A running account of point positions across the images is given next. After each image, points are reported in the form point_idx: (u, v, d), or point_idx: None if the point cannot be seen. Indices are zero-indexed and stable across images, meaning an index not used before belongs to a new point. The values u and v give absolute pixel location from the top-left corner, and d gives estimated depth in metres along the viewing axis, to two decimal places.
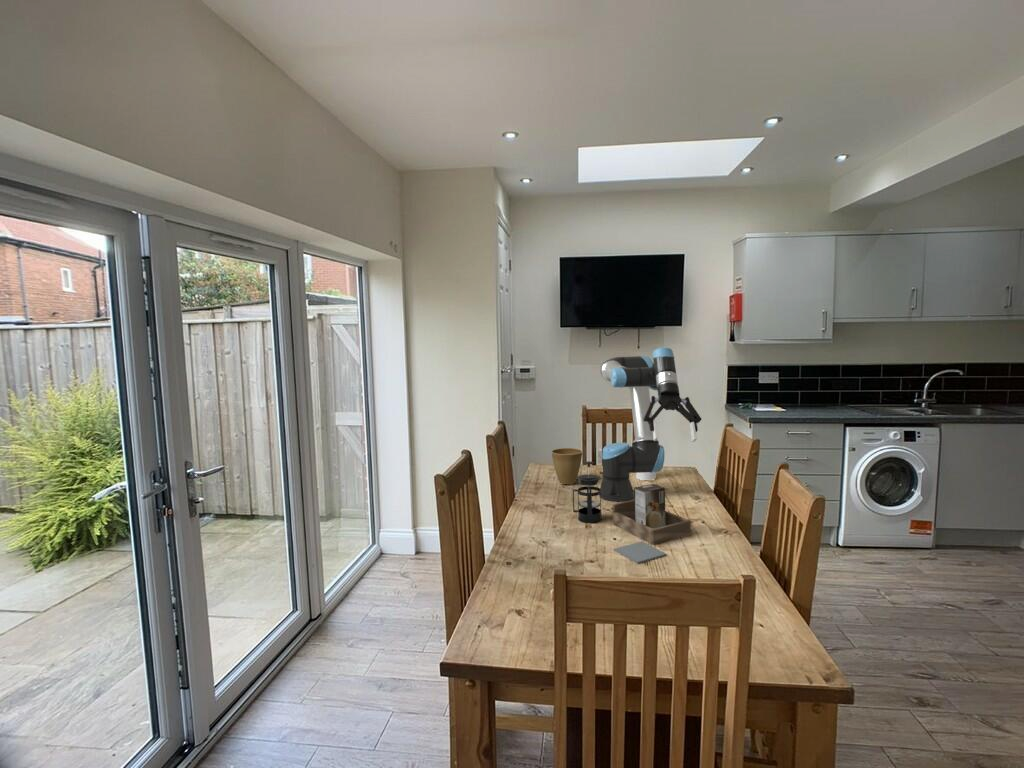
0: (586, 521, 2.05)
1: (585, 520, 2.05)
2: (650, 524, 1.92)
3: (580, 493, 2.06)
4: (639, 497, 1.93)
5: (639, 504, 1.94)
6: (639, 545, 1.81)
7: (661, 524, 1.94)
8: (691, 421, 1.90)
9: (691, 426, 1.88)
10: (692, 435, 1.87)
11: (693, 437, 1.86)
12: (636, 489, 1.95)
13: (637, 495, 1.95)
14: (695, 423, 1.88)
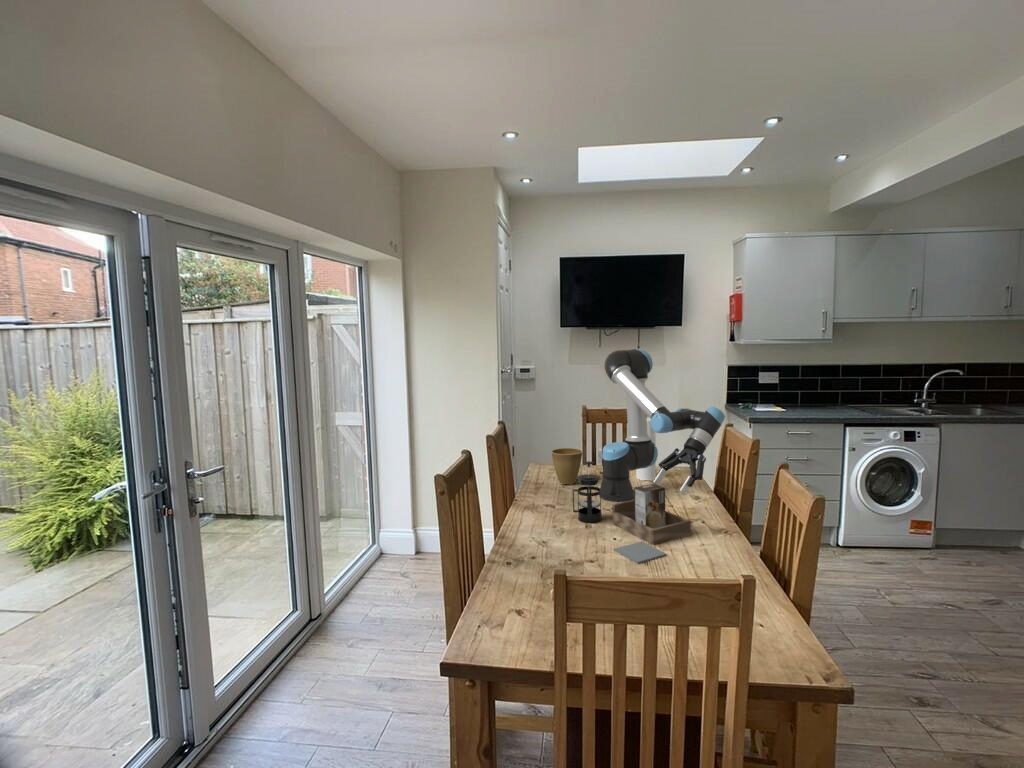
0: (586, 521, 2.05)
1: (585, 520, 2.05)
2: (650, 524, 1.92)
3: (580, 493, 2.06)
4: (639, 497, 1.93)
5: (639, 504, 1.94)
6: (639, 545, 1.81)
7: (661, 524, 1.94)
8: None
9: (663, 473, 2.04)
10: (658, 480, 2.03)
11: (658, 483, 2.03)
12: (636, 489, 1.95)
13: (637, 495, 1.95)
14: None
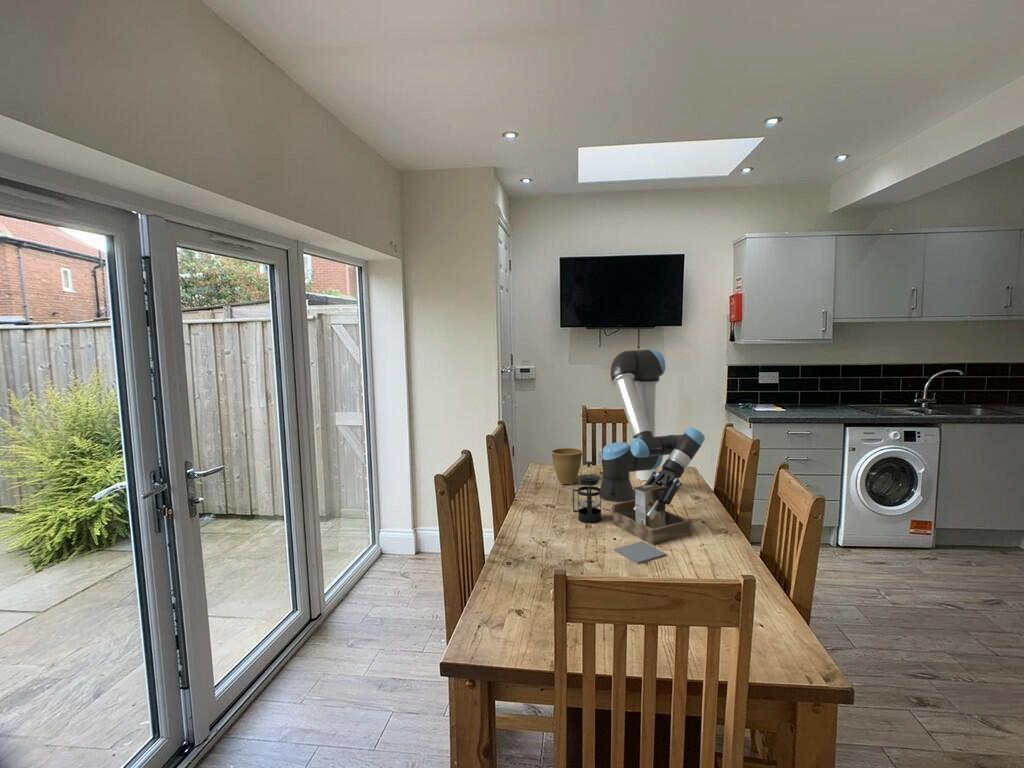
0: (586, 521, 2.05)
1: (585, 520, 2.05)
2: (650, 524, 1.92)
3: (580, 493, 2.06)
4: (639, 497, 1.93)
5: (639, 504, 1.94)
6: (639, 545, 1.81)
7: (661, 524, 1.94)
8: None
9: None
10: None
11: None
12: (636, 489, 1.95)
13: (637, 495, 1.95)
14: None
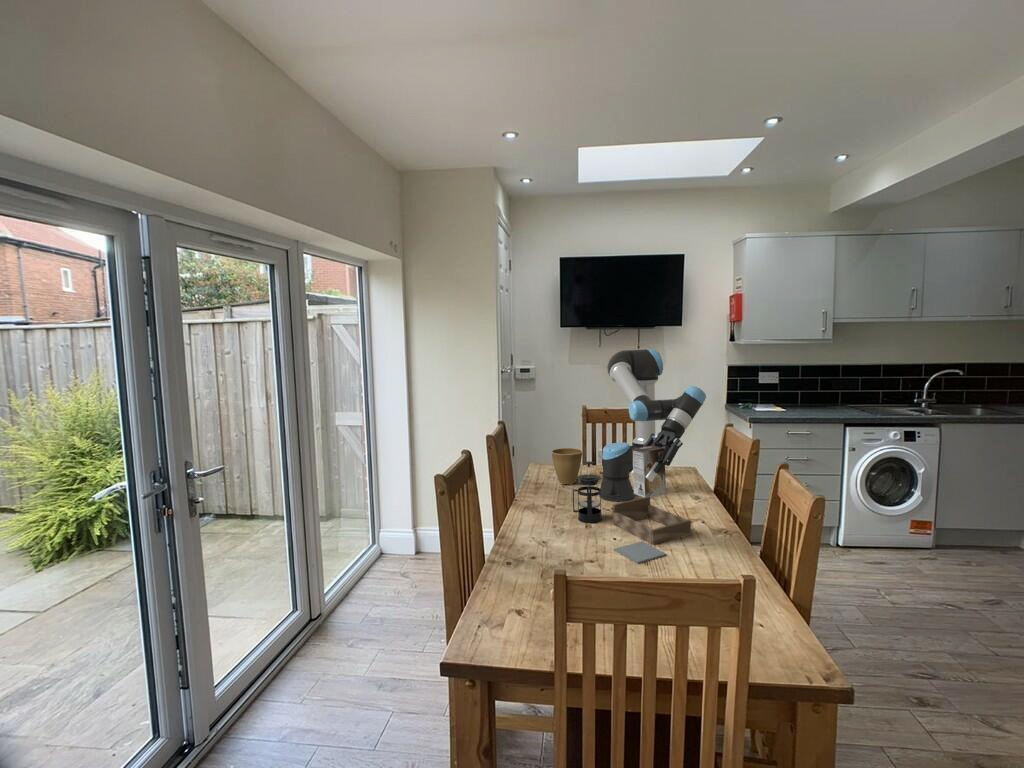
0: (586, 521, 2.05)
1: (585, 520, 2.05)
2: (649, 487, 1.79)
3: (580, 493, 2.06)
4: (637, 459, 1.80)
5: (637, 466, 1.81)
6: (639, 545, 1.81)
7: (661, 488, 1.81)
8: None
9: None
10: None
11: None
12: (634, 450, 1.81)
13: (635, 456, 1.81)
14: None
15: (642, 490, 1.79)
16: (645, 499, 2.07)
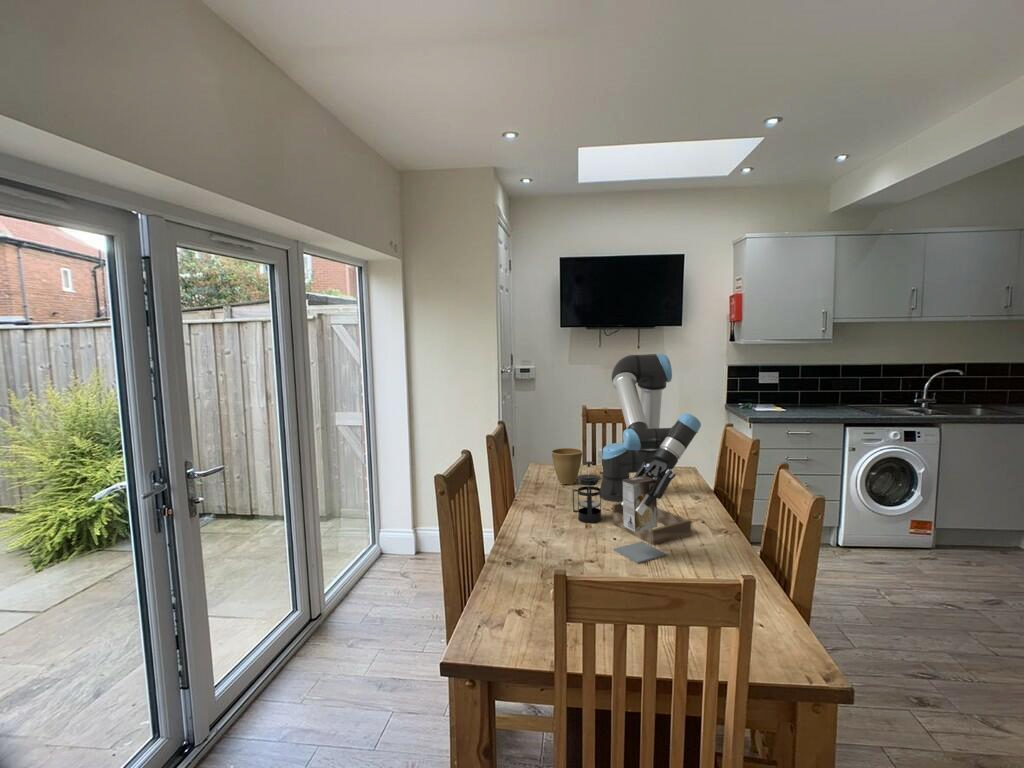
0: (586, 521, 2.05)
1: (585, 520, 2.05)
2: (639, 520, 1.70)
3: (580, 493, 2.06)
4: (627, 491, 1.72)
5: (627, 498, 1.72)
6: (639, 545, 1.81)
7: (652, 521, 1.73)
8: None
9: None
10: None
11: None
12: (624, 481, 1.73)
13: (625, 488, 1.73)
14: None
15: (632, 523, 1.71)
16: None
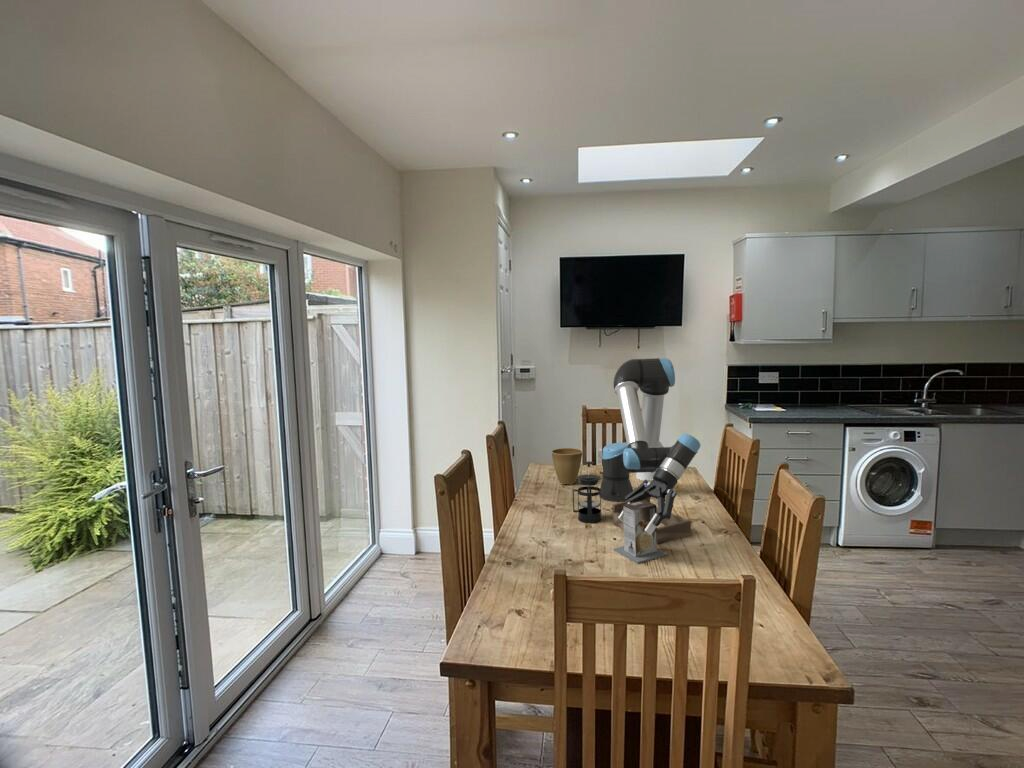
0: (586, 521, 2.05)
1: (585, 520, 2.05)
2: (640, 546, 1.72)
3: (580, 493, 2.06)
4: (628, 516, 1.73)
5: (627, 523, 1.74)
6: None
7: (653, 546, 1.74)
8: None
9: None
10: None
11: (623, 519, 1.80)
12: (624, 507, 1.74)
13: (625, 513, 1.74)
14: None
15: (632, 548, 1.72)
16: (645, 499, 2.07)
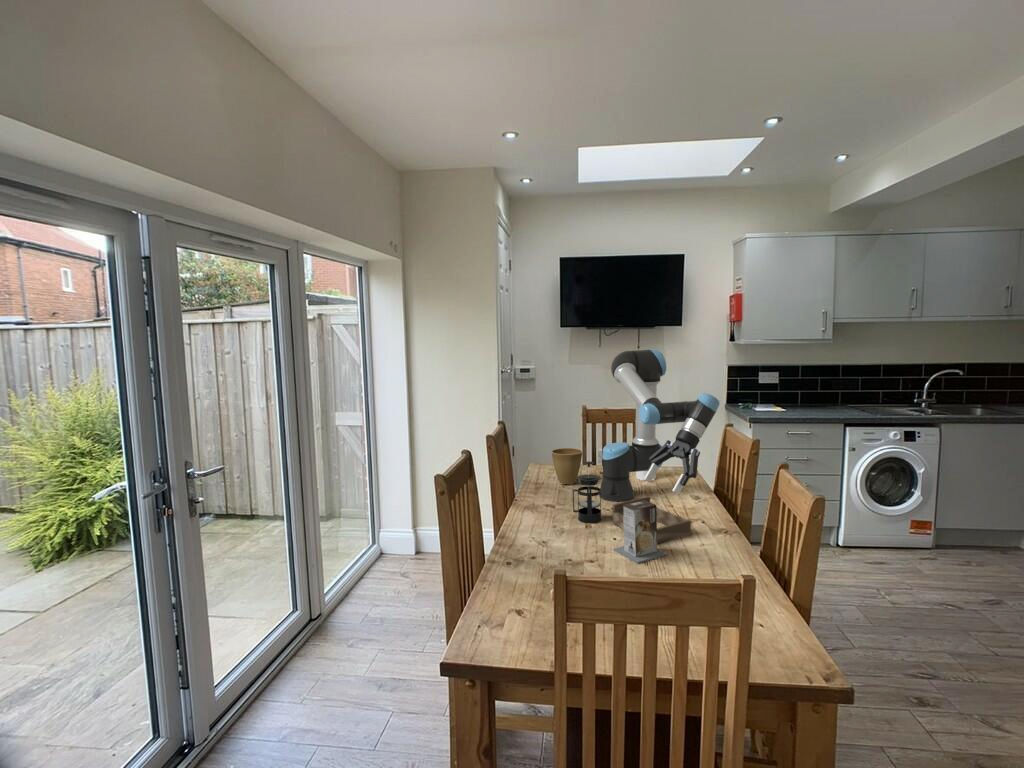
0: (586, 521, 2.05)
1: (585, 520, 2.05)
2: (640, 546, 1.72)
3: (580, 493, 2.06)
4: (628, 516, 1.73)
5: (627, 523, 1.74)
6: None
7: (653, 546, 1.74)
8: None
9: (655, 469, 1.88)
10: (650, 476, 1.88)
11: (649, 479, 1.88)
12: (624, 507, 1.74)
13: (625, 513, 1.74)
14: None
15: (632, 548, 1.72)
16: (645, 499, 2.07)
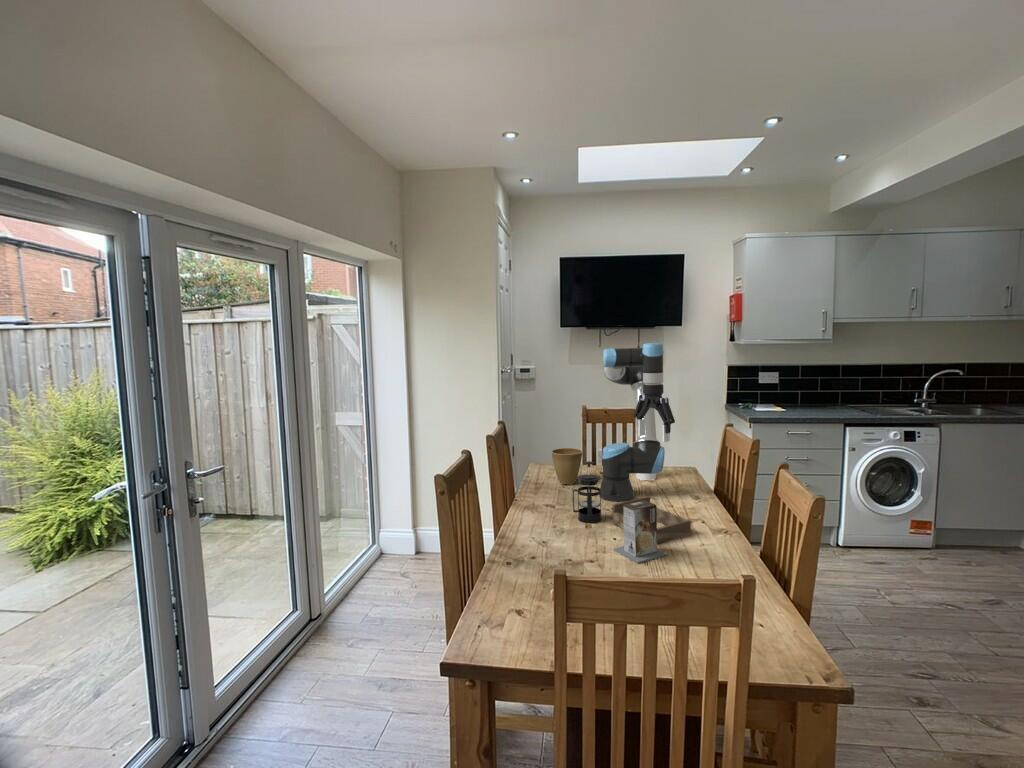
0: (586, 521, 2.05)
1: (585, 520, 2.05)
2: (640, 546, 1.72)
3: (580, 493, 2.06)
4: (628, 516, 1.73)
5: (627, 523, 1.74)
6: None
7: (653, 546, 1.74)
8: None
9: (642, 422, 2.10)
10: (642, 431, 2.10)
11: (643, 433, 2.10)
12: (624, 507, 1.74)
13: (625, 513, 1.74)
14: None
15: (632, 548, 1.72)
16: (645, 499, 2.07)
